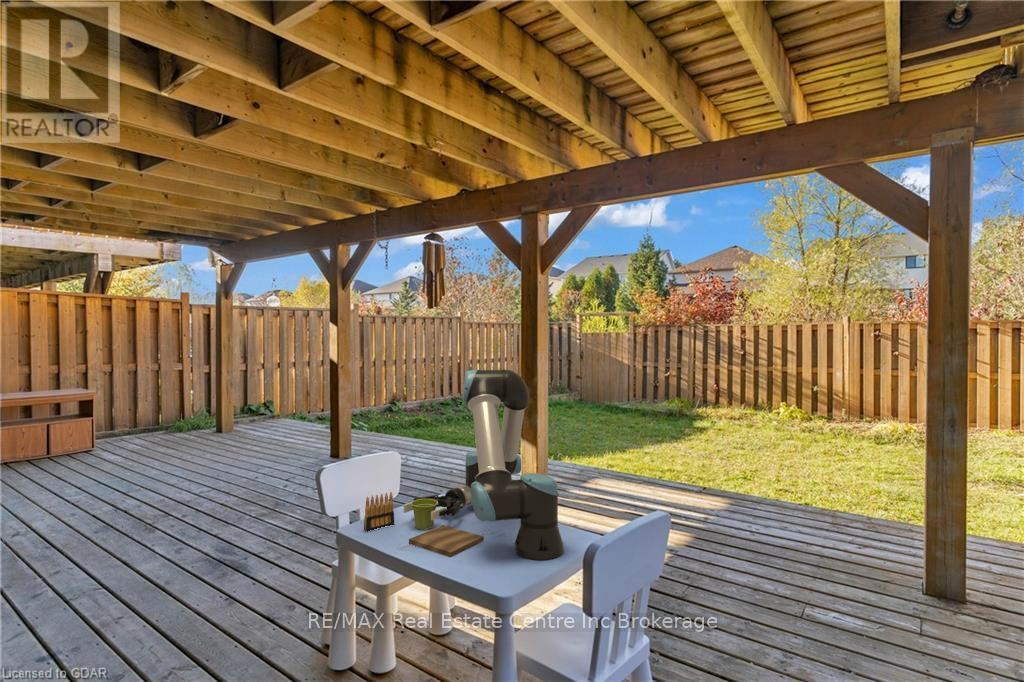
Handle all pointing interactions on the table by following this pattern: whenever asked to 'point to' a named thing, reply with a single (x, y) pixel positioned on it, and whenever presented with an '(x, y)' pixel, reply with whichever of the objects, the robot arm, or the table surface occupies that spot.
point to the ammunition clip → (379, 513)
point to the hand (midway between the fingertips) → (417, 512)
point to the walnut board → (446, 540)
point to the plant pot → (423, 512)
